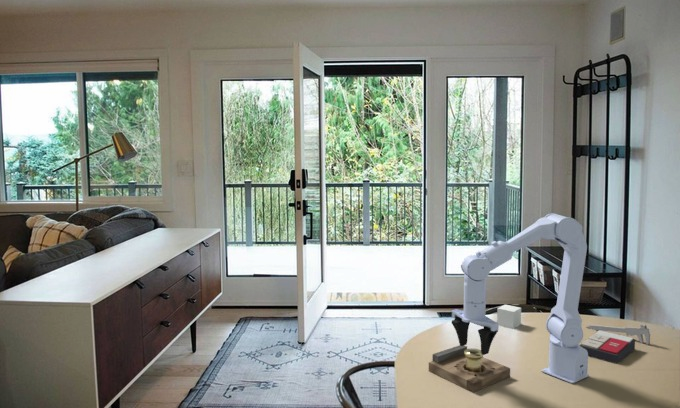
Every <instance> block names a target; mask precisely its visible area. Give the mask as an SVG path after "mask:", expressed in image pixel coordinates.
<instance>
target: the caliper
mask: <svg viewBox="0 0 680 408" xmlns="http://www.w3.org/2000/svg"><path fill="white" fill-rule="evenodd" d="M585 328H588V329H590V330H594V331H599V330H601V331H605V332H610V333H613V332H614V333H621V334H622V333H624V334H625V335H626V337H634V336H637V338H638V340H639V343H640V344H642V343H643V344H644V343H646V346H648V345H650V344H651V331H650V329H649V328H648V327H647V324H645V325H643V324H640V327H635V326H626V327H621V326H620V327H618V326H610V325H609V326H608V325H599V324H589V325H587V326H585ZM644 339H645V340H644ZM644 341H645V342H644Z"/></svg>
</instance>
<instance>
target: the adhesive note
mask: <svg viewBox="0 0 680 408" xmlns="http://www.w3.org/2000/svg"><path fill="white" fill-rule="evenodd" d="M496 314H497V315H496V316H497V317H496V318H497V319H496V322H497V323H499V326H501V327H504V328H505V327H506V328H509V329H515V328H517V327H519V326H520V325H521V324H522V322H521V321H522V307H519V306H513V305H509V304H503V305H501V306H499V307H497V312H496Z"/></svg>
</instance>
